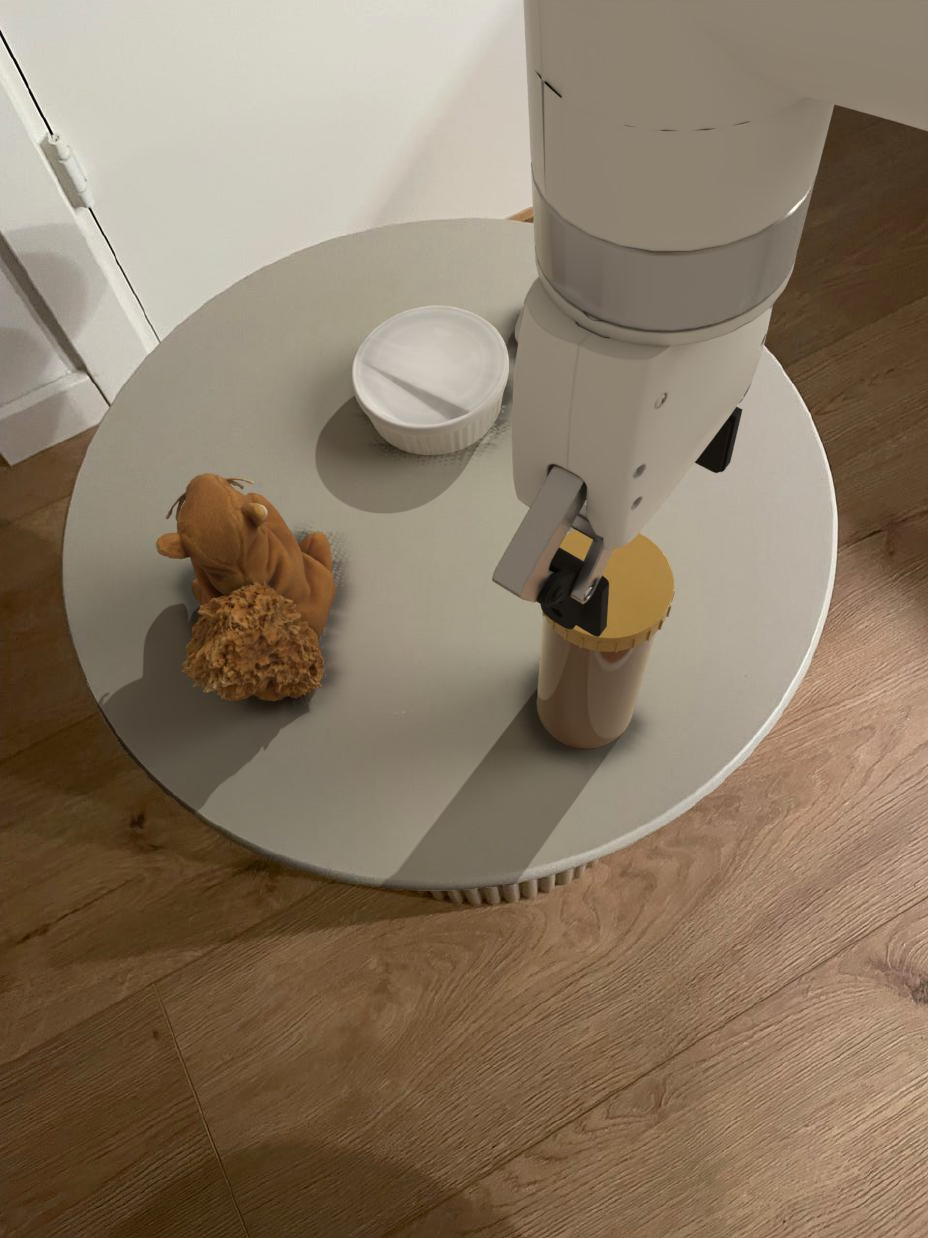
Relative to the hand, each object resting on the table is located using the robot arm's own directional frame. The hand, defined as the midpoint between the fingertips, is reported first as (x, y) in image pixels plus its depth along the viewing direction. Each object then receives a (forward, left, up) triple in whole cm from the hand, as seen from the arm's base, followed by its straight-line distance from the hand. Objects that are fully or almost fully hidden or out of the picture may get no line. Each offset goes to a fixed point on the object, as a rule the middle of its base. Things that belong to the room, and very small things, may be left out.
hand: (635, 532), depth 43 cm
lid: (0, -1, -7) cm, 7 cm away
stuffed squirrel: (+16, -16, -22) cm, 32 cm away
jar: (+1, -1, -22) cm, 22 cm away
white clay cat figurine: (-13, -28, -22) cm, 38 cm away
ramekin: (-2, -27, -22) cm, 35 cm away
